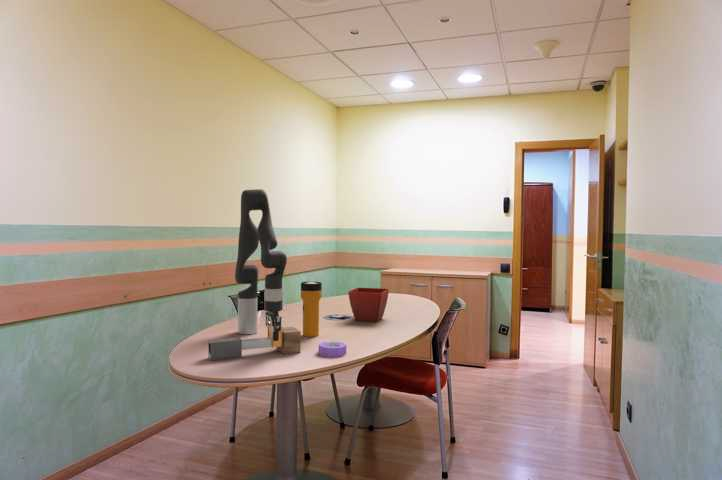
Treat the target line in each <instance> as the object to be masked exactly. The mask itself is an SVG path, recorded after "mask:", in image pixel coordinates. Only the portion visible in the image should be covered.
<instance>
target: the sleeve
mask: <svg viewBox="0 0 722 480" xmlns="http://www.w3.org/2000/svg"><path fill="white" fill-rule="evenodd" d="M242 340H243V339H241V338H240V337H239V336H238V337H230V338H229V337H228V338H217V339H209V340H207V342H208V345H207V347H208V349H207V351H208V353H207V355H208V357H207V358H208V359H209V360H210V362H214V361H222V360H233V359H242V357H243V355H242V354H243V350H242Z"/></svg>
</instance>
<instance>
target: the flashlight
mask: <svg viewBox="0 0 722 480" xmlns="http://www.w3.org/2000/svg"><path fill="white" fill-rule="evenodd" d="M322 284H323V283H322V282H321V281H302V282H300V298H301V299H302V336H303V337H306V338H314V337H318V336H320V335H319V334H320V332H319V331H320V330H319V329H320V328H319V327H320V300H321V299H322V292H323V291H322V289H323V287H322Z"/></svg>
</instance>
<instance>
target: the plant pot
mask: <svg viewBox="0 0 722 480" xmlns="http://www.w3.org/2000/svg"><path fill="white" fill-rule="evenodd" d="M389 291H390V289H389V288H378V287H377V288H375V287H356V288H353V289H351V290H349V291H348V298H349V303H350V308H351V312H352V315H353V318H354V320H355V321H356V322H357V321H358V322H369V323H370V322H372V323H377V322H379V321H380V320H382V319H383V316H384V315H385V311H386V308H387V303H388V297H389Z"/></svg>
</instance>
